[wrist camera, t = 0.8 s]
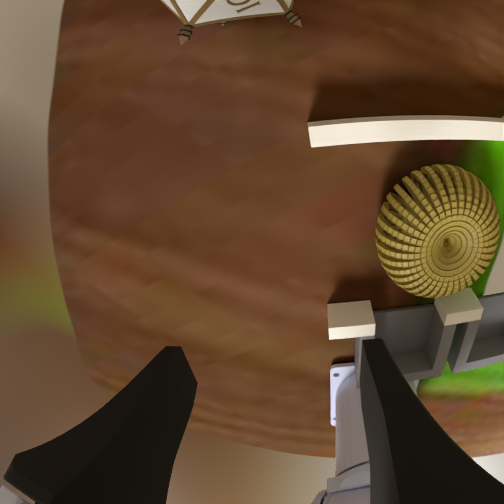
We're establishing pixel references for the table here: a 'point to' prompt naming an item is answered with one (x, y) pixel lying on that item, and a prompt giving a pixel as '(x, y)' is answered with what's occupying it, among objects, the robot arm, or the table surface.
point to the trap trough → (444, 308)
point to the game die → (226, 12)
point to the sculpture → (437, 231)
